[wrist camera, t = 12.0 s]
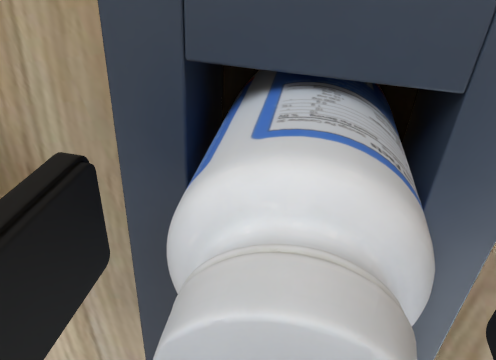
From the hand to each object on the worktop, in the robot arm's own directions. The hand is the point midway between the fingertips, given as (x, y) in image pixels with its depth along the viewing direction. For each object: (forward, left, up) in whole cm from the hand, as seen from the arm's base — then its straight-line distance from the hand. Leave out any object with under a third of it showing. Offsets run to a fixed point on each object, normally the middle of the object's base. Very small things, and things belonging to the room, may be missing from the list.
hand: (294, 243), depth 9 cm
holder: (0, +4, -6) cm, 7 cm away
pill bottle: (0, 0, -6) cm, 6 cm away
